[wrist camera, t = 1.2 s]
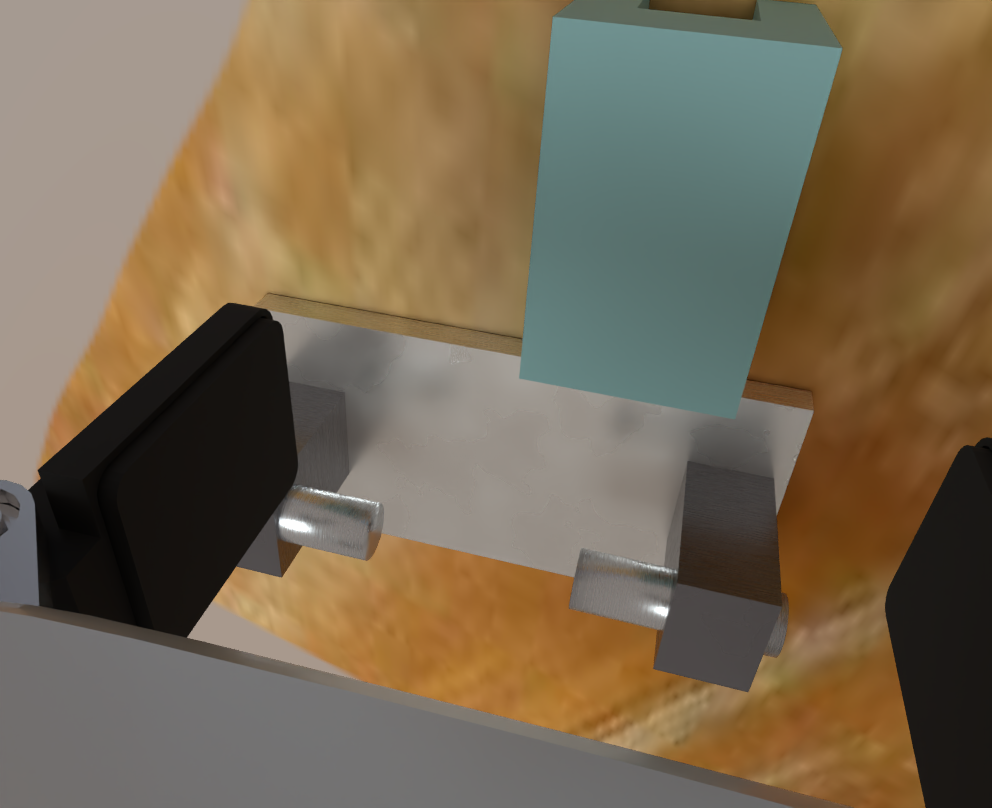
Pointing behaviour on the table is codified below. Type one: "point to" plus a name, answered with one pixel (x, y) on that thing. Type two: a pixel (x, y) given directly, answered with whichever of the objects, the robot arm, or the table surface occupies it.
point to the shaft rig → (540, 480)
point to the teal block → (668, 194)
